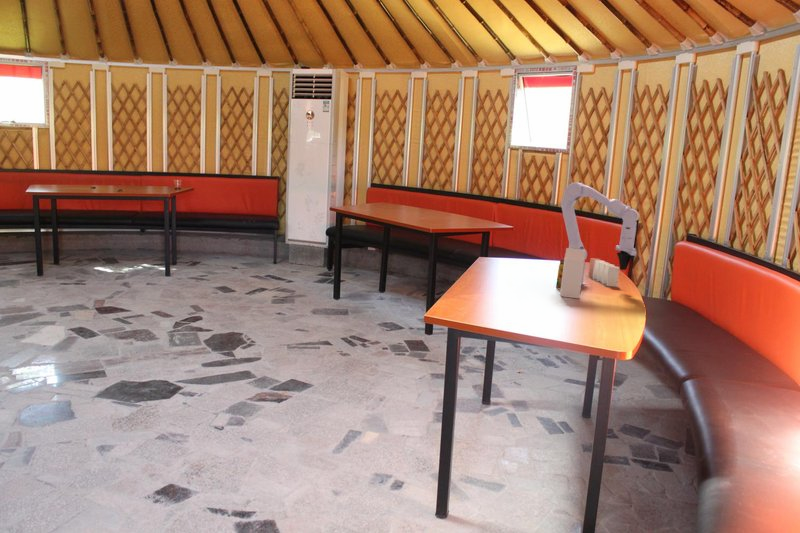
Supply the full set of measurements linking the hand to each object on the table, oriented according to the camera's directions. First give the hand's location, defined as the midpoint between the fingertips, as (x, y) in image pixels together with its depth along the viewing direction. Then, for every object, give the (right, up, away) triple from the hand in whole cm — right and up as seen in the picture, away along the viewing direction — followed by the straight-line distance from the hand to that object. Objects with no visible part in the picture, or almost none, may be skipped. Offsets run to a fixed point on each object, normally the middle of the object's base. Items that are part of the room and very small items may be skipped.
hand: (623, 269), depth 270 cm
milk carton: (-27, -11, -16) cm, 33 cm away
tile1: (-2, -7, +10) cm, 12 cm away
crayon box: (-25, -8, -1) cm, 26 cm away
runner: (-3, -6, +19) cm, 20 cm away
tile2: (-2, -6, +14) cm, 16 cm away
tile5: (-4, -4, +28) cm, 29 cm away
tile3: (-3, -5, +19) cm, 20 cm away
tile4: (-4, -4, +24) cm, 24 cm away
